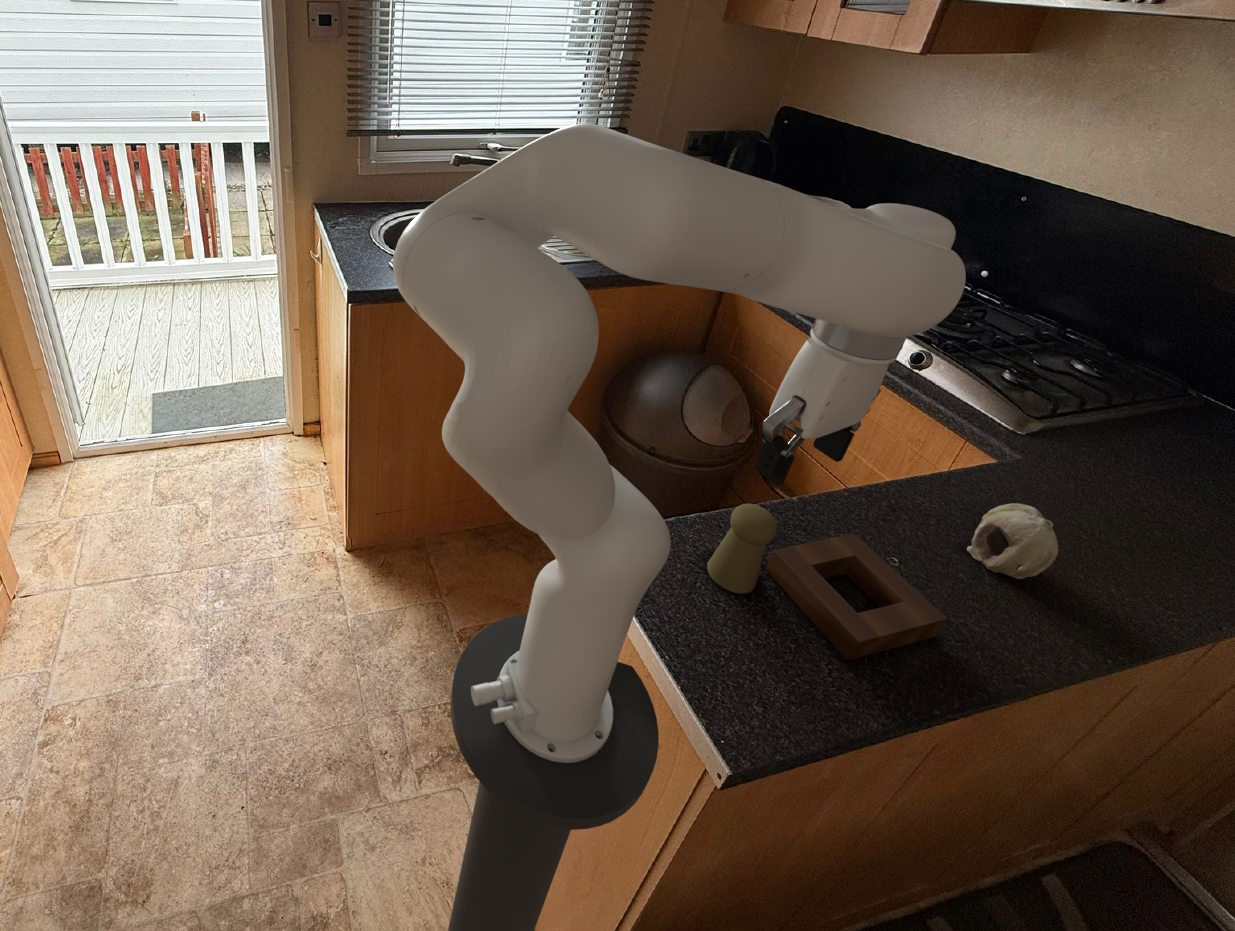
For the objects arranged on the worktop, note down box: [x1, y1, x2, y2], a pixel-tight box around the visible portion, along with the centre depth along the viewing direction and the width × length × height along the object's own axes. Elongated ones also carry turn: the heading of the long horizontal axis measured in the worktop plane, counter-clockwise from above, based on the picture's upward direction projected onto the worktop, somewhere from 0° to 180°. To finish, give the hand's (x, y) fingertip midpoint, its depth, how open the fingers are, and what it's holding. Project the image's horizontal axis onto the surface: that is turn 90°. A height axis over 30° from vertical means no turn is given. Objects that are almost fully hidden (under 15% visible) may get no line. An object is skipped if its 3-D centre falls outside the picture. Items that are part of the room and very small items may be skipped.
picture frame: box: [764, 533, 948, 662], centre depth 84 cm, size 14×14×4 cm
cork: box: [706, 503, 778, 595], centre depth 85 cm, size 6×6×11 cm
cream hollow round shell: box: [966, 503, 1059, 580], centre depth 90 cm, size 9×8×10 cm
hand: (797, 464), depth 73 cm, fingers open, 9 cm apart
